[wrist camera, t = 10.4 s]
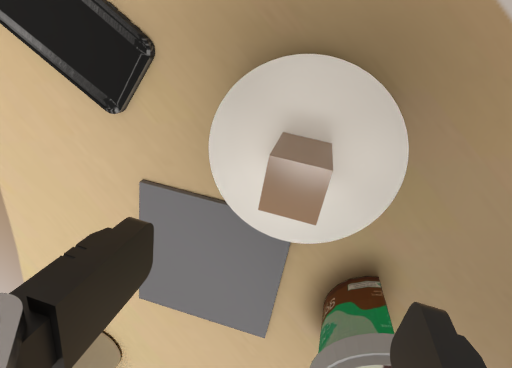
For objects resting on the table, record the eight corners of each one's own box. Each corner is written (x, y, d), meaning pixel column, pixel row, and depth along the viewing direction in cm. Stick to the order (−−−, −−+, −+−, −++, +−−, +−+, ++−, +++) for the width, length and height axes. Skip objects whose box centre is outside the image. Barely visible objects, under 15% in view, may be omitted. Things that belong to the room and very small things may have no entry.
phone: (115, 119, 28) (-22, 5, 26) (123, 116, 29) (-9, 7, 27) (156, 46, 24) (0, -90, 23) (162, 46, 25) (14, -84, 24)
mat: (296, 220, 28) (295, 223, 28) (265, 334, 35) (264, 338, 35) (142, 179, 31) (139, 181, 30) (141, 294, 37) (139, 298, 37)
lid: (440, 77, 17) (491, 88, 12) (365, 255, 23) (377, 318, 17) (225, 35, 19) (184, 27, 13) (204, 211, 24) (169, 255, 19)
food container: (314, 257, 30) (308, 344, 21) (380, 264, 28) (404, 360, 19) (310, 345, 35) (304, 448, 26) (366, 355, 33) (381, 466, 24)
